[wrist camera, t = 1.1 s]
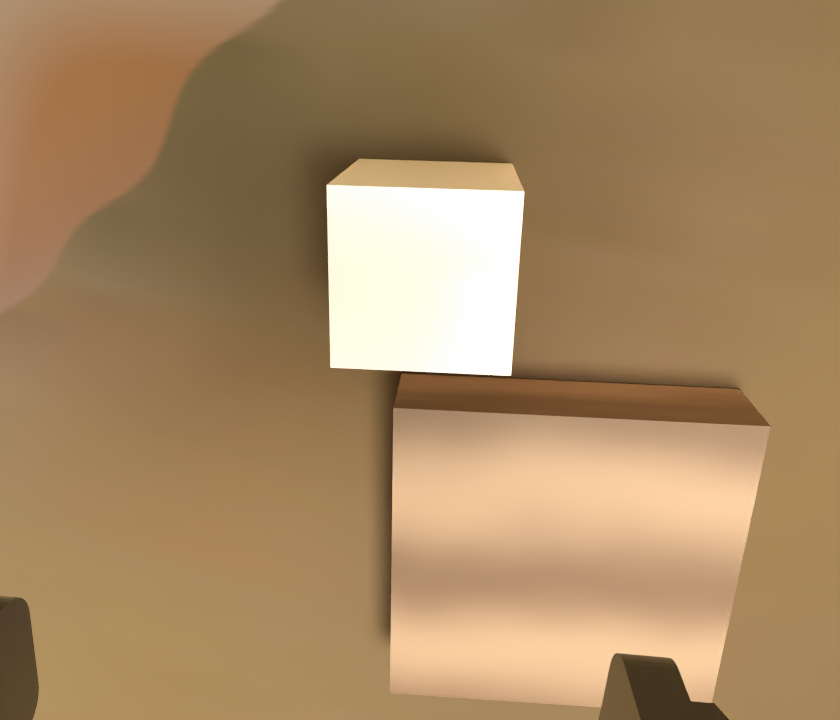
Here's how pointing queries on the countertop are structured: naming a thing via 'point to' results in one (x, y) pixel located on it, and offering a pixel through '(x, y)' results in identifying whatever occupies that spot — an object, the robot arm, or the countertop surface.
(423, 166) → the cube
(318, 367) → the countertop surface
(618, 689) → the robot arm
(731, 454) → the base
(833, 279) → the countertop surface
